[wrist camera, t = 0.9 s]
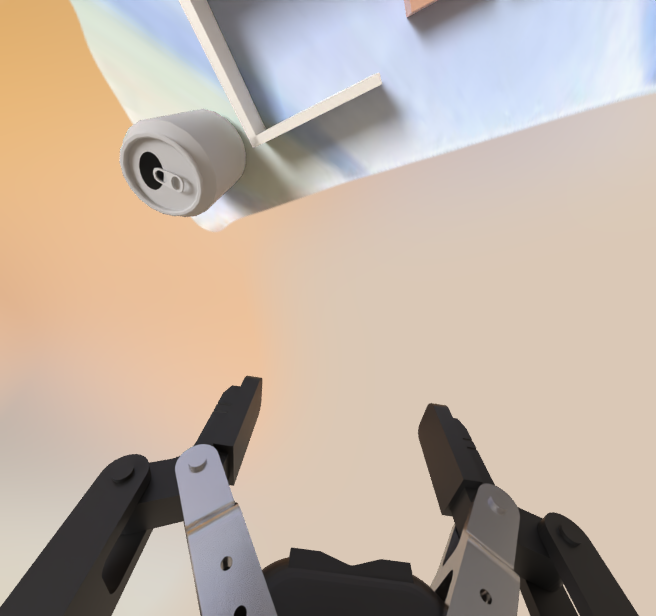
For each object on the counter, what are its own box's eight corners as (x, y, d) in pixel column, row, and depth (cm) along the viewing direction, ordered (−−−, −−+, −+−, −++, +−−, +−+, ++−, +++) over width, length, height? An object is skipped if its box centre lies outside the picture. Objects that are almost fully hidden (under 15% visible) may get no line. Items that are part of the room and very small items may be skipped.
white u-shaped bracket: (184, -25, 22) (155, -45, 19) (328, -135, 19) (325, -184, 15) (263, 140, 29) (253, 148, 26) (376, 83, 26) (381, 84, 23)
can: (180, 95, 27) (99, 101, 18) (253, 126, 29) (213, 147, 19) (179, 170, 32) (114, 205, 23) (242, 194, 33) (205, 236, 24)
